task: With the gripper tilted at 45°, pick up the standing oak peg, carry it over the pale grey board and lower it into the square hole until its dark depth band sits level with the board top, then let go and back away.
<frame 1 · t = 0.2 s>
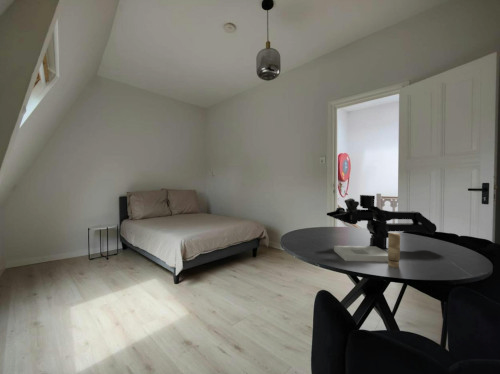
hand: (329, 215, 117), 16 cm above the table, tool horizontal, fingers open, 9 cm apart
grey socket board: (361, 255, 104), on the table
oak peg: (393, 266, 92), on the table
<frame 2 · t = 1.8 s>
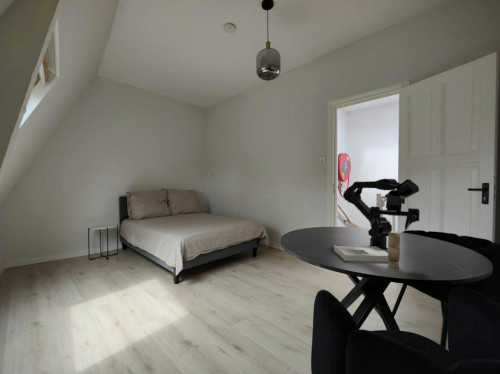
hand: (392, 228, 99), 14 cm above the table, tool tilted 45°, fingers open, 9 cm apart
nothing on the table moved.
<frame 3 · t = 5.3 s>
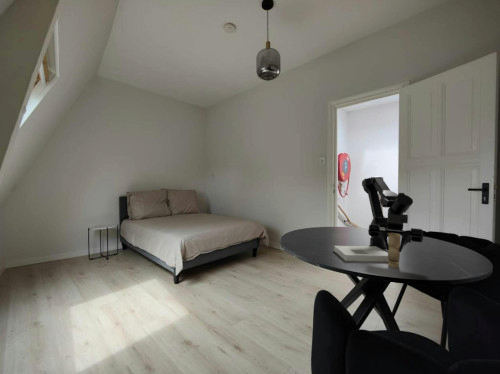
hand: (393, 250, 90), 7 cm above the table, tool tilted 45°, fingers closed on oak peg, 4 cm apart
oak peg: (393, 266, 92), on the table, touching gripper
when the fingers open (7 cm above the table, at t = 9.4 s): oak peg stays where it is, resting in grey socket board.
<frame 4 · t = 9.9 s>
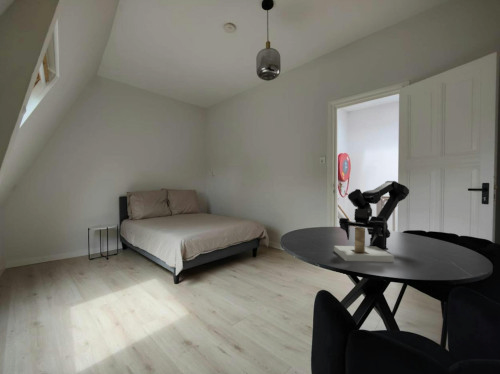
hand: (359, 241, 101), 8 cm above the table, tool tilted 45°, fingers open, 9 cm apart
oak peg: (359, 257, 102), resting in grey socket board
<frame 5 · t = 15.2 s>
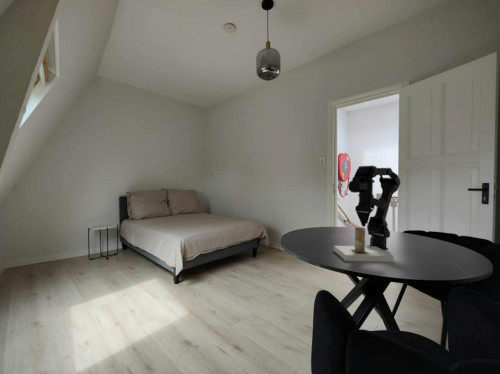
hand: (365, 224, 109), 13 cm above the table, tool pointing down, fingers open, 9 cm apart
nothing on the table moved.
at the end: oak peg 0.0 cm from the target spot on the grey socket board, point 0.0 cm above the grey socket board's base; oak peg tilted 0°; the gripper is holding nothing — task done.
